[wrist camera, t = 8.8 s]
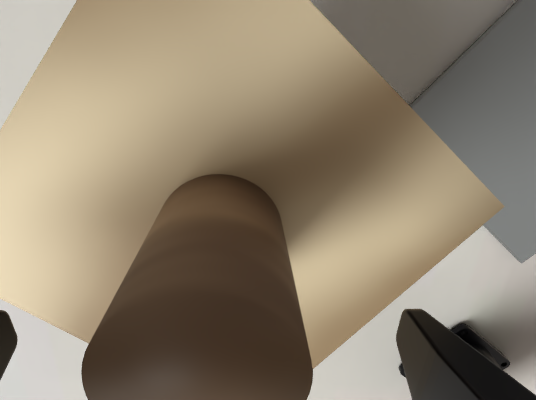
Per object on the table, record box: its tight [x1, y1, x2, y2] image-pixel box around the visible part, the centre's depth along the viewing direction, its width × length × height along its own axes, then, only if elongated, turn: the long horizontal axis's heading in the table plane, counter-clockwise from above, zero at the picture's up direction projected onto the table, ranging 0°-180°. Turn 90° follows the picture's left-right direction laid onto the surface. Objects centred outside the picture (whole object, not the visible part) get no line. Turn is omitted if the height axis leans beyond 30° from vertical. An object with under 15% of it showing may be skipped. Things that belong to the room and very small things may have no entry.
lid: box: [0, 0, 505, 400], centre depth 8 cm, size 12×12×6 cm
